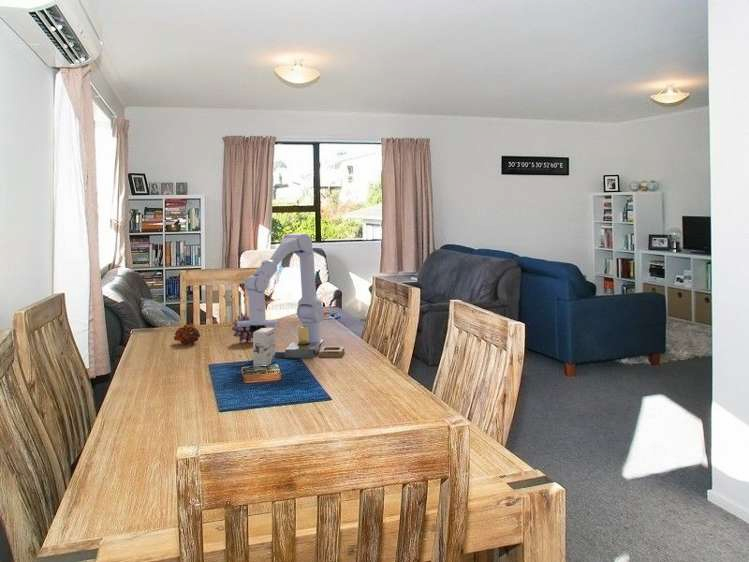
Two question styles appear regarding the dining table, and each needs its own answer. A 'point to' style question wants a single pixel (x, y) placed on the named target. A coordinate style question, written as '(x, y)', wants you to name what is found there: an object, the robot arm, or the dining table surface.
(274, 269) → the robot arm
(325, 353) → the rack
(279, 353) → the drift key
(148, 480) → the dining table surface
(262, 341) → the ink box
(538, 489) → the dining table surface
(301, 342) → the yellow rectangular block
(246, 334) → the purple spiky ball
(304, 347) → the socket block
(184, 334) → the brown knobbly lump
